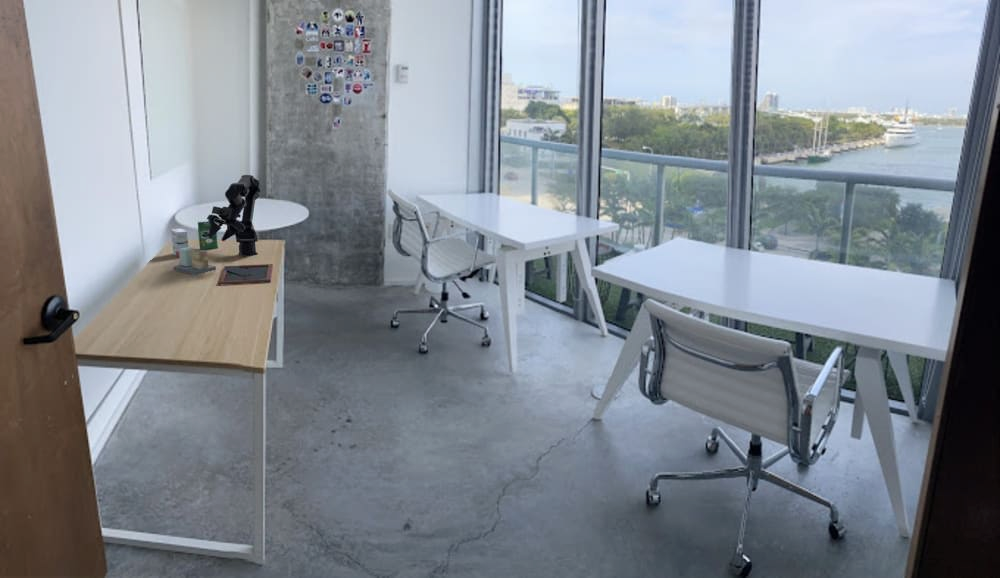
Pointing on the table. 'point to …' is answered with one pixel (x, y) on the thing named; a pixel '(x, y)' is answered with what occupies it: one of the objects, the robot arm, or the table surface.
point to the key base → (193, 269)
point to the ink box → (179, 240)
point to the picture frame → (246, 274)
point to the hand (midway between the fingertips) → (215, 239)
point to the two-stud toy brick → (186, 256)
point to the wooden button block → (199, 259)
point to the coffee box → (206, 236)
